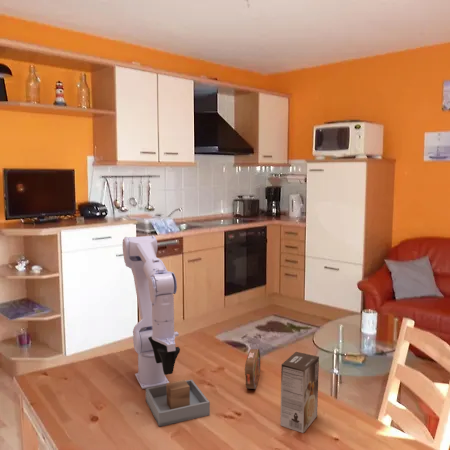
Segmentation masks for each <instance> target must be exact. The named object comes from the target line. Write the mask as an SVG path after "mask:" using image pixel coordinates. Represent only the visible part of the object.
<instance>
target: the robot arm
mask: <svg viewBox="0 0 450 450" xmlns="http://www.w3.org/2000/svg"><path fill="white" fill-rule="evenodd" d="M122 253H123V255H122V256H123V261H124V264H125V266H126V268H129V269H131V273H132V276H133V282H134V288H135V292H136V293H135V294H136V299H137V305H138V311H139V317H140V318H139V319H140V320H139V321H138V322H137V323H136V324H135V325H134V326H133V329H132V336H133V337H132V340H133V347H134V351H135V353H137V367H138V368H137V369H138V370H137V373H134V375H135V378H136V379H137V382H138V384H139V385H140V388H141V389H145V390H146V389H147V388H152V387H157V386H162V385H166V383H170V381H169V380H168V378H167V375H172V374H173V373H174V368H175V363H176V360H177V357H178V356H179V354H180V353H181V348H180V346H176V338H177V337H179V336H180V335H179V334H180V333H179V332H178V331H175V301H174V300H175V298H174V296H175V295H176V294H177V291H178V290H177V289H178V282H177V277H176V275H175V273H174V272H173V271H168V269H167V267H166V265H165V263H164V262H163V260H162V259H161V258H159V257H157V253H158V239H157V237H156V236H155V235H147V236H146V235H144V236H143V235H141V236H129V237H128V236H125V237H124V238H123V239H122Z"/></svg>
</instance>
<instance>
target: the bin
mask: <svg viewBox="0 0 450 450" xmlns="http://www.w3.org/2000/svg"><path fill="white" fill-rule="evenodd" d="M185 381H186V382H187V384H188V385H189V386H190V405H189V406H184V407H180V408H175V409H170V408H169V406H168V404H167V387H166V384H165V385H160V386H155V387H150V388H145V402H146V404H147V407H148V408H149V411H150V412H151V413H152V416H153V418H154V419H155V421H156V423H157V425H158V427H159V428H160V427H165V426H170V425H174V424H178V423H181V422H186V421H189V420H193V419H194V420H195V419H198V418H203V417H208V416H210V415H211V413H210V412H211V409H210V408H211V406H210V405H211V402H210V400H208V398H207V397H206V395H205V394H204V393H203V391H202V390H201V389H200V387H198V385H197V384H196V383H195V382H194V379H188V380H185Z"/></svg>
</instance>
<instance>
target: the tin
mask: <svg viewBox="0 0 450 450" xmlns="http://www.w3.org/2000/svg"><path fill="white" fill-rule="evenodd" d="M260 374H261V351H260V349H259V348H255V349H254V348H251V349H249V351H248V354H247V357H246V359H245V365H244V375H245V387H246V389H248V390H249V389H251V390H252V389H253V390H256V389H257V386H258V383H259V380H260V379H259V378H260V376H261V375H260Z"/></svg>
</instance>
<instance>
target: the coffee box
mask: <svg viewBox="0 0 450 450" xmlns="http://www.w3.org/2000/svg"><path fill="white" fill-rule="evenodd" d="M319 360H320V356H317V355H313V354H309V353H305V352H300V351H295V352H294V353H293V354H291V356H289V357H288V358H287V359H285V361H284V362H283V363H281V370H280V371H281V372H280V373H281V374H280V375H281V379H280V381H281V382H280V426H281V427H284V428H287V429H289V430H291V431H292V430H293V431H296V432H299V433H301V434H304V433H305V432H306V431H307V429H308V428H309V427H310V426H311V425H312V424H313V422H314V421H315V419H317V417H318V407H319V405H318V403H319V401H318V398H319V368H320V367H319V362H320V361H319Z"/></svg>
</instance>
